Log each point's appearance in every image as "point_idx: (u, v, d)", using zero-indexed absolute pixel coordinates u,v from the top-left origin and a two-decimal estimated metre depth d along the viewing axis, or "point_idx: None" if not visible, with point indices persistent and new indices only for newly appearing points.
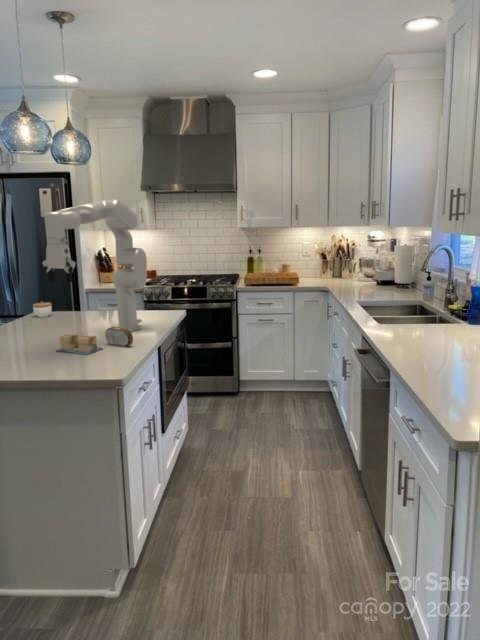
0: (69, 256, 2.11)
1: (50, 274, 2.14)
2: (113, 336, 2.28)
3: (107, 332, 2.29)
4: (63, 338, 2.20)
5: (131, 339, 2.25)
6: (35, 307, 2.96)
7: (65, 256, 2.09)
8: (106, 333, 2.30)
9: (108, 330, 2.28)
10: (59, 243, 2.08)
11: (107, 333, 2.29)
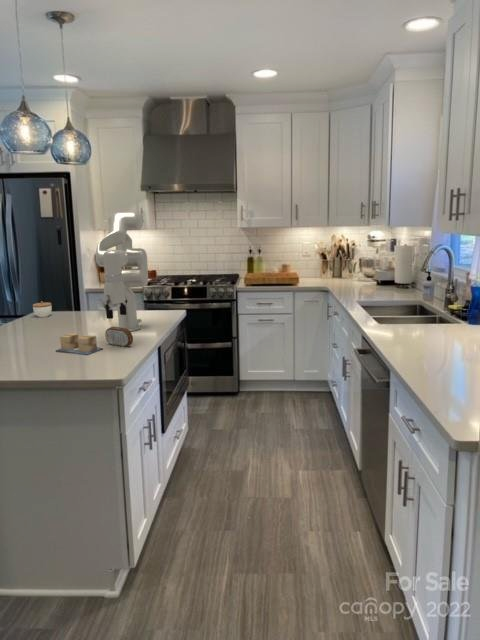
0: None
1: None
2: (113, 336, 2.28)
3: (107, 332, 2.29)
4: (63, 338, 2.20)
5: (131, 339, 2.25)
6: (35, 307, 2.96)
7: None
8: (106, 333, 2.30)
9: (108, 330, 2.28)
10: None
11: (107, 333, 2.29)
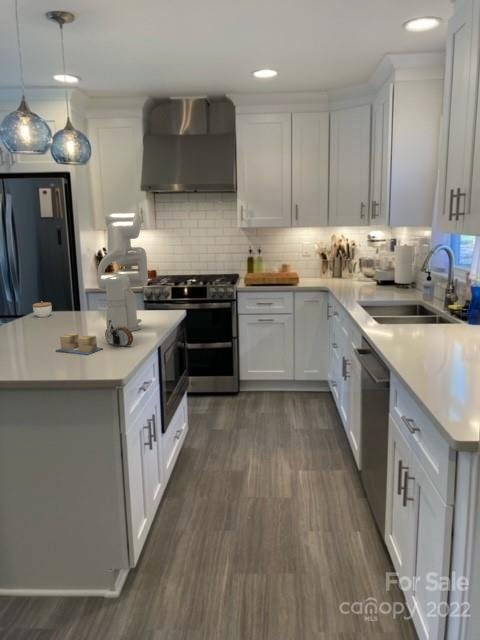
0: None
1: None
2: None
3: (107, 332, 2.29)
4: (63, 338, 2.20)
5: (131, 339, 2.25)
6: (35, 307, 2.96)
7: None
8: (106, 333, 2.29)
9: None
10: None
11: (107, 333, 2.29)
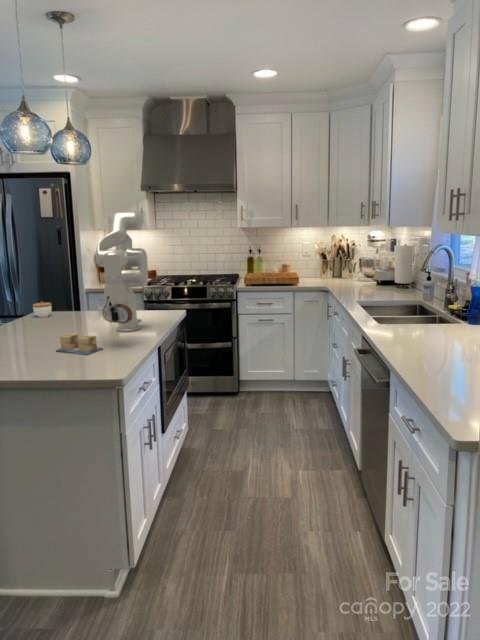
0: None
1: None
2: None
3: (105, 309, 2.27)
4: (63, 338, 2.20)
5: (131, 316, 2.24)
6: (35, 307, 2.96)
7: None
8: (103, 310, 2.27)
9: None
10: None
11: (105, 310, 2.27)
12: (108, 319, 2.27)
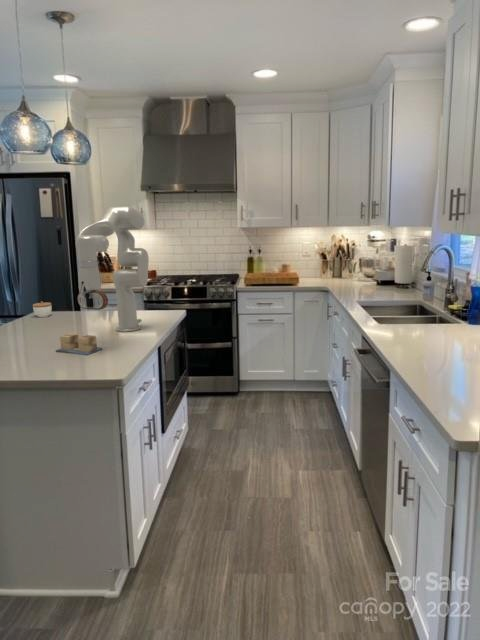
0: None
1: None
2: None
3: (79, 295, 2.20)
4: (63, 338, 2.20)
5: (106, 302, 2.18)
6: (35, 307, 2.96)
7: None
8: (78, 297, 2.21)
9: None
10: None
11: (79, 297, 2.21)
12: (83, 306, 2.21)
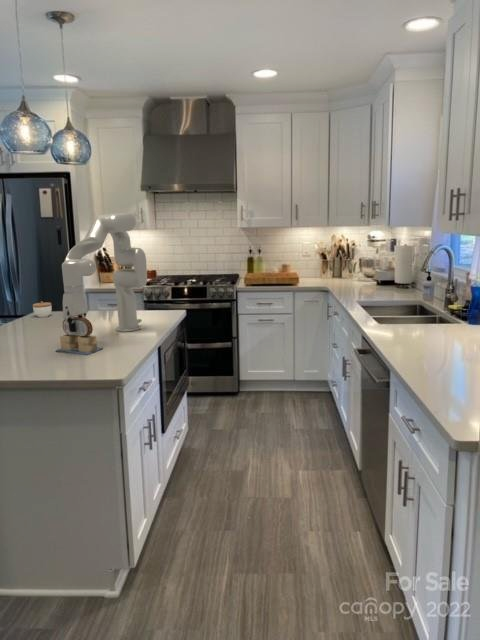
0: None
1: None
2: None
3: (64, 322, 2.20)
4: (63, 338, 2.20)
5: (91, 329, 2.17)
6: (35, 307, 2.96)
7: None
8: (63, 323, 2.21)
9: None
10: None
11: (64, 324, 2.20)
12: (68, 333, 2.21)
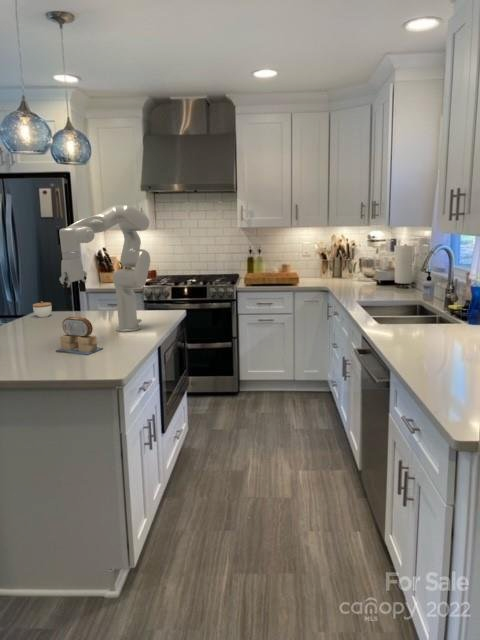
0: None
1: None
2: (71, 326, 2.19)
3: (64, 322, 2.20)
4: (63, 338, 2.20)
5: (91, 329, 2.17)
6: (35, 307, 2.96)
7: None
8: (63, 324, 2.20)
9: (65, 320, 2.19)
10: None
11: (64, 324, 2.20)
12: (68, 333, 2.21)
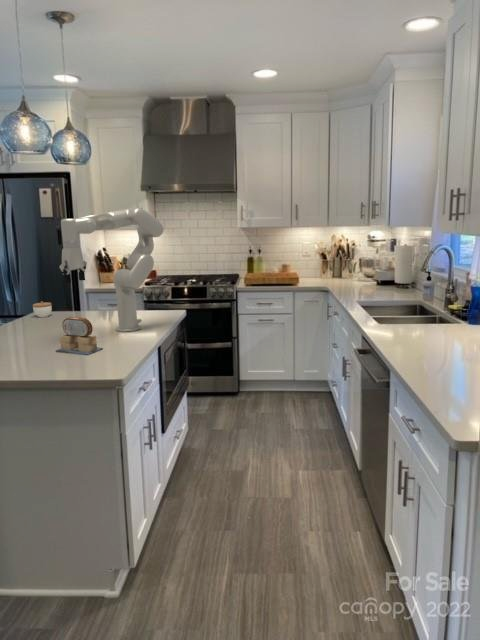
0: None
1: None
2: (71, 326, 2.19)
3: (64, 322, 2.20)
4: (63, 338, 2.20)
5: (91, 329, 2.17)
6: (35, 307, 2.96)
7: None
8: (63, 324, 2.20)
9: (65, 320, 2.19)
10: None
11: (64, 324, 2.20)
12: (68, 333, 2.21)
